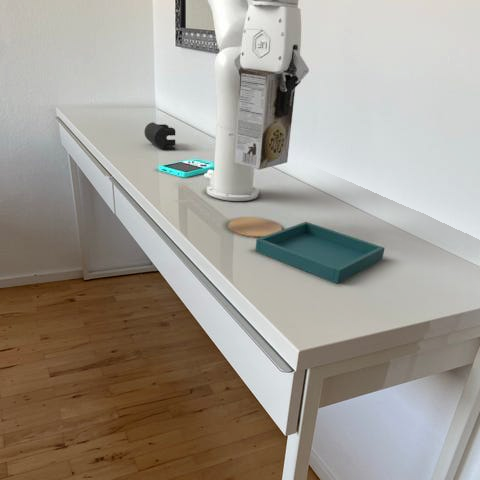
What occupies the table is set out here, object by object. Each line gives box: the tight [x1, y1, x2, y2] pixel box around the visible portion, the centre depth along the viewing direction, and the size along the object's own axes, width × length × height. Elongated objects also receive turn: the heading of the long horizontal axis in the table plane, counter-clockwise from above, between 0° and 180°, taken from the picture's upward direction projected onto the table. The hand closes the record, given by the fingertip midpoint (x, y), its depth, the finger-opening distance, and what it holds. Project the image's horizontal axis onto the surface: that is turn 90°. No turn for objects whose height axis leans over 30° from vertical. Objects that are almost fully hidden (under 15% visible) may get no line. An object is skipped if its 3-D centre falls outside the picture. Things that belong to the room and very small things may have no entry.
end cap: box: [143, 121, 176, 151], centre depth 163 cm, size 10×7×7 cm
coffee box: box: [235, 69, 296, 170], centre depth 93 cm, size 9×6×16 cm
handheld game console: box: [157, 158, 214, 178], centre depth 141 cm, size 10×16×1 cm, turn 143°
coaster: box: [228, 217, 283, 238], centre depth 103 cm, size 11×11×1 cm
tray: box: [254, 221, 385, 284], centre depth 92 cm, size 18×16×2 cm
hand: (265, 111), depth 92 cm, fingers closed on coffee box, 6 cm apart
